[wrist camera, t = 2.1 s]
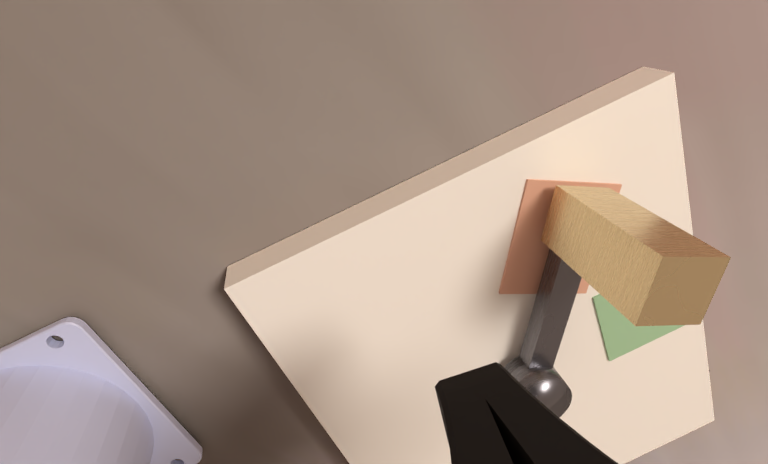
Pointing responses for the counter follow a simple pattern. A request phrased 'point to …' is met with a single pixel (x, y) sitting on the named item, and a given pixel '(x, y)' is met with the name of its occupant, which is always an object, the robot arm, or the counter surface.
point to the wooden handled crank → (611, 277)
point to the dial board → (482, 287)
